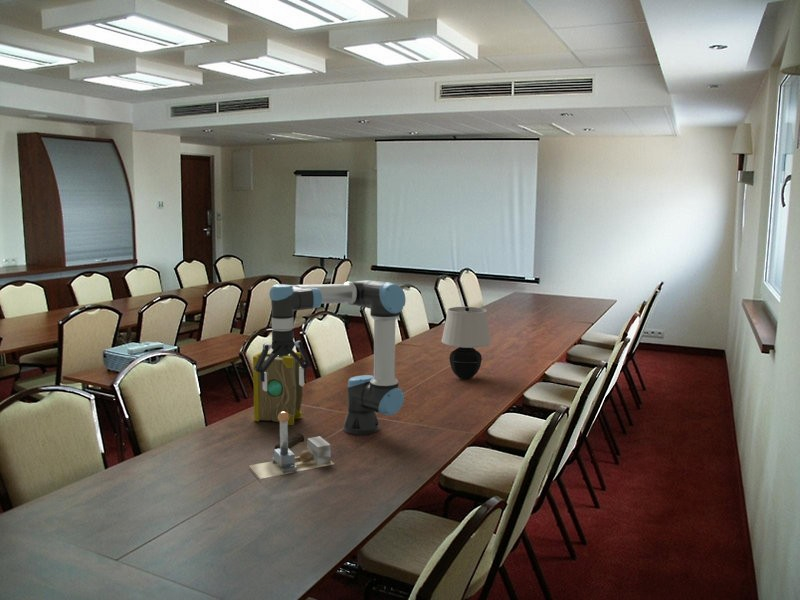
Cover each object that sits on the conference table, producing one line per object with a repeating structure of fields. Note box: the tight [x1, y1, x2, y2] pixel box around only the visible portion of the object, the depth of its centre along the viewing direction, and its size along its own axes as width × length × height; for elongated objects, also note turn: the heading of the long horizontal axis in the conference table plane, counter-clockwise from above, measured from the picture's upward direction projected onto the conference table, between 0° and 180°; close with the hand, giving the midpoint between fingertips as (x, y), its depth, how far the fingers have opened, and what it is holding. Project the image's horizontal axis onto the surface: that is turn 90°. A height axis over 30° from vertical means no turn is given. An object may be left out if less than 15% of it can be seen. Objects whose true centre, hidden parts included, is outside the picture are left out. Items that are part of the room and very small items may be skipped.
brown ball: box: [299, 449, 312, 462], centre depth 244 cm, size 4×4×4 cm
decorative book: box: [252, 351, 304, 426], centre depth 293 cm, size 20×11×30 cm, turn 77°
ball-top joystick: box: [271, 411, 297, 473], centre depth 239 cm, size 5×12×20 cm, turn 30°
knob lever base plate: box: [248, 435, 335, 484], centre depth 242 cm, size 28×13×8 cm, turn 120°
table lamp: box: [440, 306, 492, 381], centre depth 365 cm, size 27×27×40 cm
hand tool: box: [273, 433, 305, 450], centre depth 260 cm, size 19×4×5 cm, turn 154°
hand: (283, 387), depth 236 cm, fingers open, 13 cm apart
